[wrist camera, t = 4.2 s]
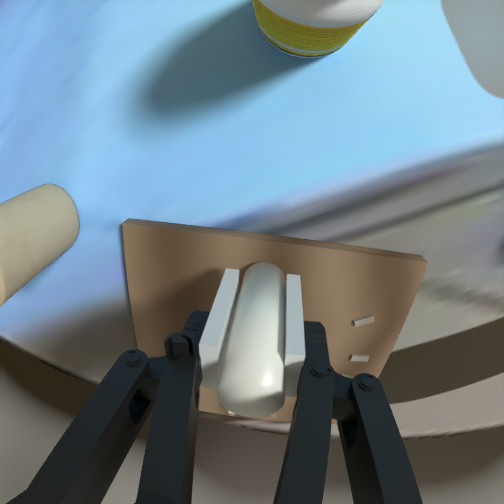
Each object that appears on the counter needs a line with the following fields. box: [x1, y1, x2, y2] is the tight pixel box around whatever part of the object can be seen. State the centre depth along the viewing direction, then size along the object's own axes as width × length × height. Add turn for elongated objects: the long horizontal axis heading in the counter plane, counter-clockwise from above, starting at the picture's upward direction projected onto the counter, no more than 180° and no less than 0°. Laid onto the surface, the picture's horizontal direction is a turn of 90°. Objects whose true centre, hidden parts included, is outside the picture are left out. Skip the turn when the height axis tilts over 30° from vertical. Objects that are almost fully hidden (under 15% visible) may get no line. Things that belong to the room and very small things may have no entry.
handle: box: [217, 262, 285, 417], centre depth 17 cm, size 15×6×9 cm, turn 170°
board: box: [122, 219, 428, 424], centre depth 22 cm, size 20×18×1 cm
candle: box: [0, 184, 80, 306], centre depth 15 cm, size 6×6×10 cm
